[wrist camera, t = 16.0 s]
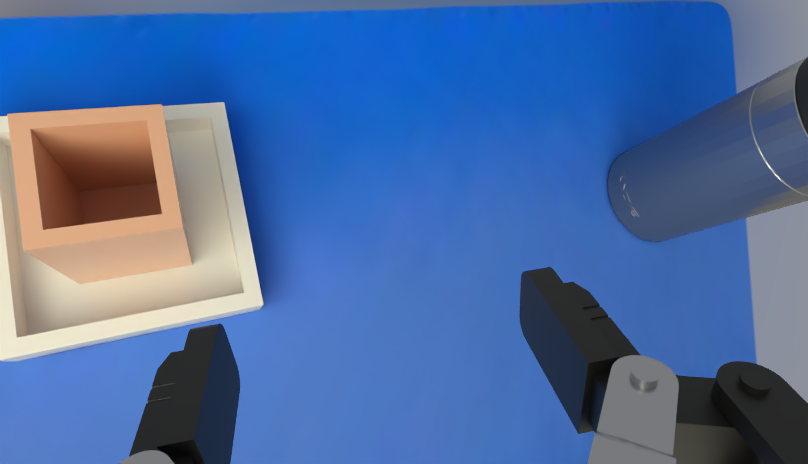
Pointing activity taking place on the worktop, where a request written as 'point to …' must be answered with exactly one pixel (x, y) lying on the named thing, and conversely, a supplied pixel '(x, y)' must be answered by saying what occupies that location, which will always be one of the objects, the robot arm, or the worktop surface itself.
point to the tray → (143, 293)
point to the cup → (98, 191)
